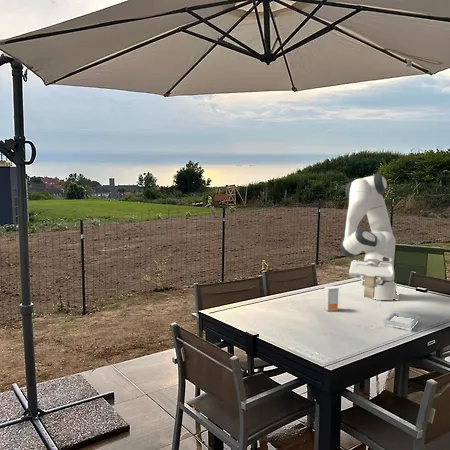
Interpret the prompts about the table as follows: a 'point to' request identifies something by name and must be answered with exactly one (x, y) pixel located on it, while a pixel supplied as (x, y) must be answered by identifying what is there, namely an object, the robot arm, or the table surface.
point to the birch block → (369, 286)
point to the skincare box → (331, 298)
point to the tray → (388, 322)
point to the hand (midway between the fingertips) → (369, 285)
